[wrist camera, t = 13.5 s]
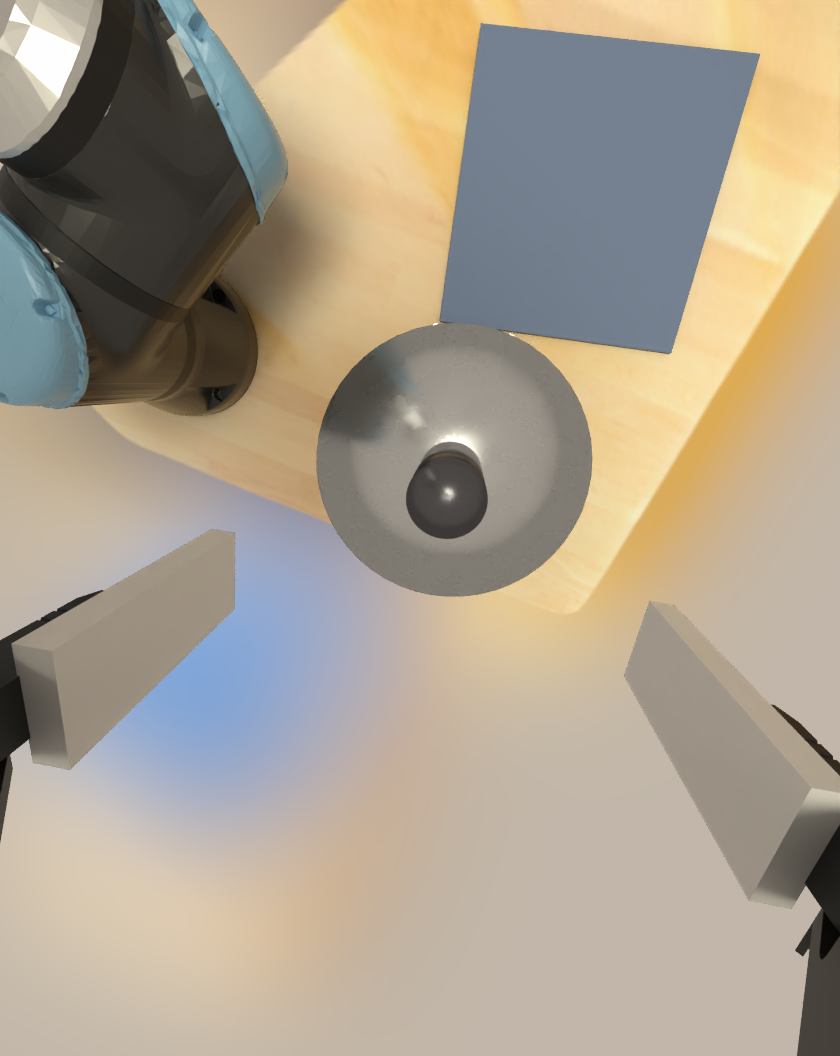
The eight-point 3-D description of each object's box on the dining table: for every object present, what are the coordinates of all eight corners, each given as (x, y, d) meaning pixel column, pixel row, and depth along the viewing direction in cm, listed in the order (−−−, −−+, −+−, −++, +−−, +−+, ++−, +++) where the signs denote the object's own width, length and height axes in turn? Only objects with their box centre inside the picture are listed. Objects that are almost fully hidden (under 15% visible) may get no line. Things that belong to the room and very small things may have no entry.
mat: (439, 321, 45) (439, 320, 44) (480, 28, 38) (481, 23, 37) (668, 353, 44) (671, 353, 43) (755, 58, 37) (760, 53, 36)
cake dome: (347, 526, 53) (266, 626, 31) (365, 327, 46) (277, 274, 24) (531, 556, 52) (581, 681, 30) (578, 357, 45) (688, 330, 23)
